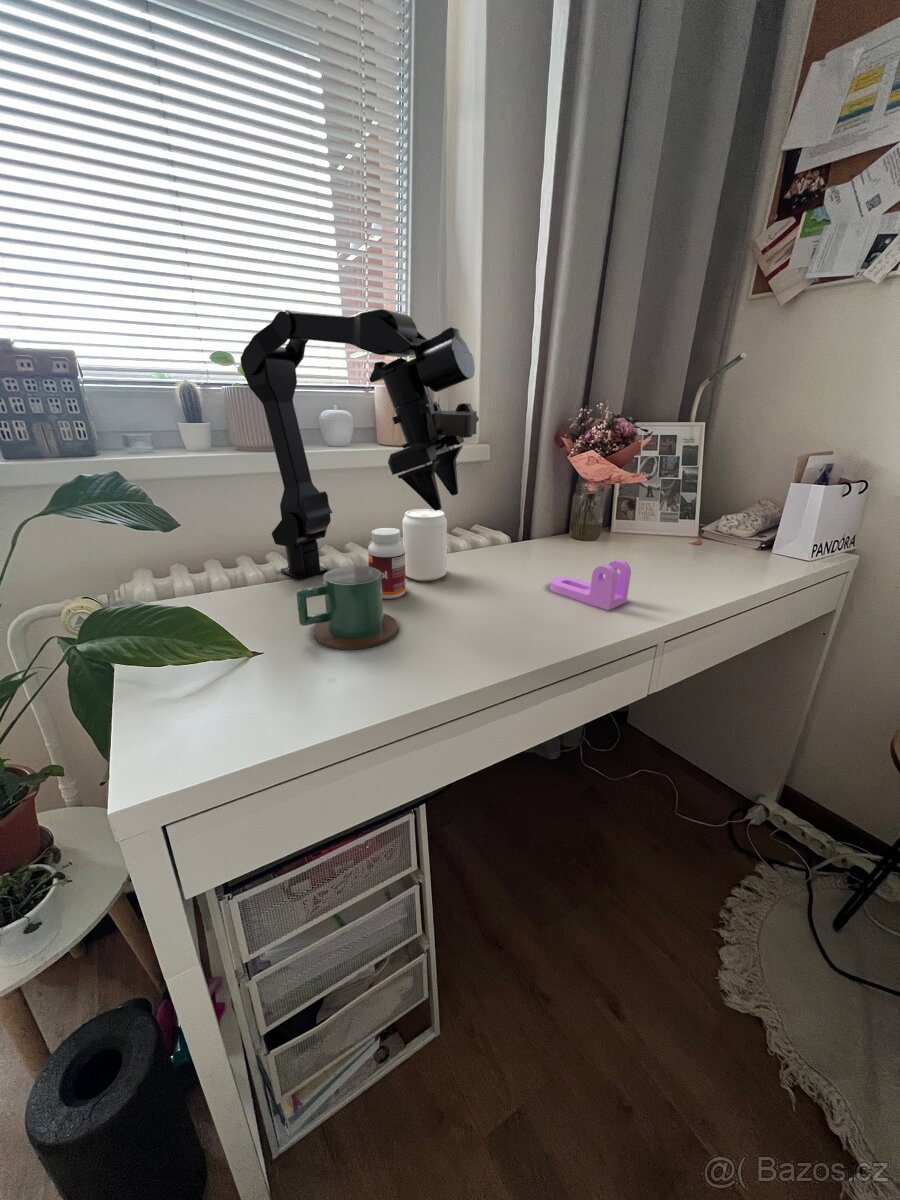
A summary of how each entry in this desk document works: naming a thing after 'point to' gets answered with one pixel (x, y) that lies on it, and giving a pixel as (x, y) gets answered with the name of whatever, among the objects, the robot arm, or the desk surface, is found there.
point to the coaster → (361, 643)
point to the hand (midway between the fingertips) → (447, 501)
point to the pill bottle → (388, 561)
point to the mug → (347, 602)
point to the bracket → (598, 586)
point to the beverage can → (425, 544)
